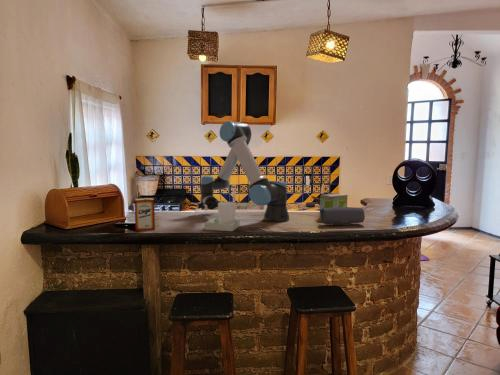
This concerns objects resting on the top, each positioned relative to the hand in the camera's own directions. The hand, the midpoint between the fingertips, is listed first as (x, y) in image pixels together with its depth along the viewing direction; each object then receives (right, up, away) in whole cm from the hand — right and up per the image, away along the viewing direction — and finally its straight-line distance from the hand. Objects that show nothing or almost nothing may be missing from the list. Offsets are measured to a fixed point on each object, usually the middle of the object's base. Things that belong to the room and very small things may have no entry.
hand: (218, 207), depth 200 cm
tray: (+3, -10, -8) cm, 13 cm away
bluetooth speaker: (+69, -10, +1) cm, 70 cm away
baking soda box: (-37, -11, -13) cm, 41 cm away
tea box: (+69, -8, +21) cm, 72 cm away
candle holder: (+5, -9, -6) cm, 12 cm away
